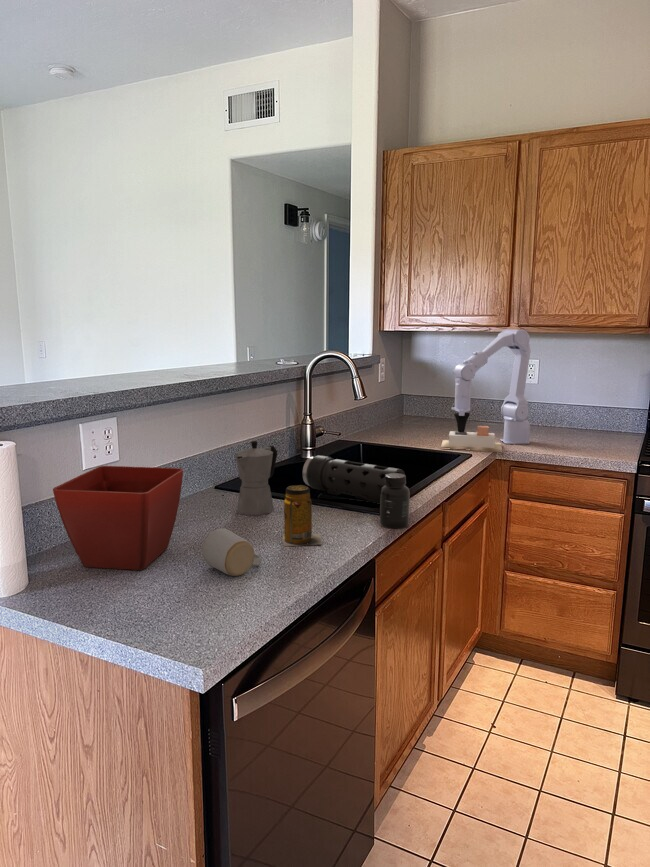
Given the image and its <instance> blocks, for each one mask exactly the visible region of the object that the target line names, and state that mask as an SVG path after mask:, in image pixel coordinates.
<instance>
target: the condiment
mask: <svg viewBox="0 0 650 867" xmlns="http://www.w3.org/2000/svg"><path fill="white" fill-rule="evenodd" d="M309 487H310V486H309ZM309 487H308V485H307V486H306V485H303V484H295V485H289V486H287V487H286V488H285V498H284V501H283V506H284V507H283V513H284V514H283V515H284V517H283V525H284V526H283V527H284V528H283V530H284V533H283V534H282V546H285V547H293V546H294V547H298V546H316V545H323V542H322V536H321V533H313V532H312V531H313V528H312V527H313V525H312V524H313V520H312V519H313V518H312V517H313V515H312V514H313V513H312V512H313V511H312V508H313V506H312V504H313V503H312V502H313V501H312V499H311V493H310V492H311V490H310V488H309Z"/></svg>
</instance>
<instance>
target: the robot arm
mask: <svg viewBox="0 0 650 867" xmlns="http://www.w3.org/2000/svg"><path fill="white" fill-rule="evenodd" d="M530 338H531V335H530V334H529V333H528V332H527V330H525V329H522V328H521V329H513V328H512V329H510V328H506V329H503V330H502V331H501V332H498V334H497V336H496V338H494V339H493V340H492V341H491V342H490V343H489V344H488V345H487V346H486V347H484V348H483V350H482V351H481V350H477V351H473V352H472V355H471V356H469V357H468V358H467V359H464V360H463V362H462V363H458V364H457V365H456V366H455V367H454V369H453V370H452V375H453V377H454V382H455V385H454V387H455V388H454V389H455V391H454V406H453V407H452V406H451V410H453V411H456V412H454V413H453V414H454V418H455V420H456V426H457V431H458V432H464V431H466V426H467V422H468V419H469V418H470V411H471V398H472V397H471V394H472V380H473V379H474V378H475V377H476V373H477V372H478V371H479V370H481V368H482V367H485V365H487V364H488V359H489V358H490V357H492V356H493V355H494V354H496V353H497V352H498V351H500V350H501V349H503V348H504V347H506V348H507V349H510V351H512V353H514V359H513V366H512V372H511V373H512V374H511V378H510V386H509V393H508V395H507V396H505V397H504V400H503V403H502V405H501V407H500V412H501V413H500V414H501V416H503V419H504V423H503V424H504V425H503V427H504V428H503V437H502V438H499V441H501V442H502V441H503V443H504V444H507V445H509V444H510V445H513V444H515V445H519V444H520V445H526V444H527V445H530V438H531V437H530V436H531V424H530V421H529V420H528V419H526V418H527V417H528V416H529V406H528V404H529V401H528V400H527V399H526V397H525V391H526V390H525V389H526V385H527V384H526V383H527V378H528V370H529V363H530V356H531V345H530Z"/></svg>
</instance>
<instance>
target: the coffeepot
mask: <svg viewBox="0 0 650 867" xmlns="http://www.w3.org/2000/svg"><path fill="white" fill-rule="evenodd" d="M250 445H251V448H246V449H241V450H238V451H237V452H236V453H235V461H236V465H237V470H238V477H239V479H240V480H241V486H240V488H239V494H238V501H237V506H236V507H237V508H236V511H237V512H238V513H239V514H240V515H245V516H251V517H252V516H255V517H257V516H263V515H264V516H265V515H267V514H270V513H272V512H273V510H274V503H273V497H272V493H271V487H270V485H269V479H270V478H272V477H273V476H274V472H275V468H276V463H277V457H278V450H277V448H276V446H274V445H268V446H264V447H262V448H261V447H259V448H258V441H256V440H252V441H251V442H250Z"/></svg>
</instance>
